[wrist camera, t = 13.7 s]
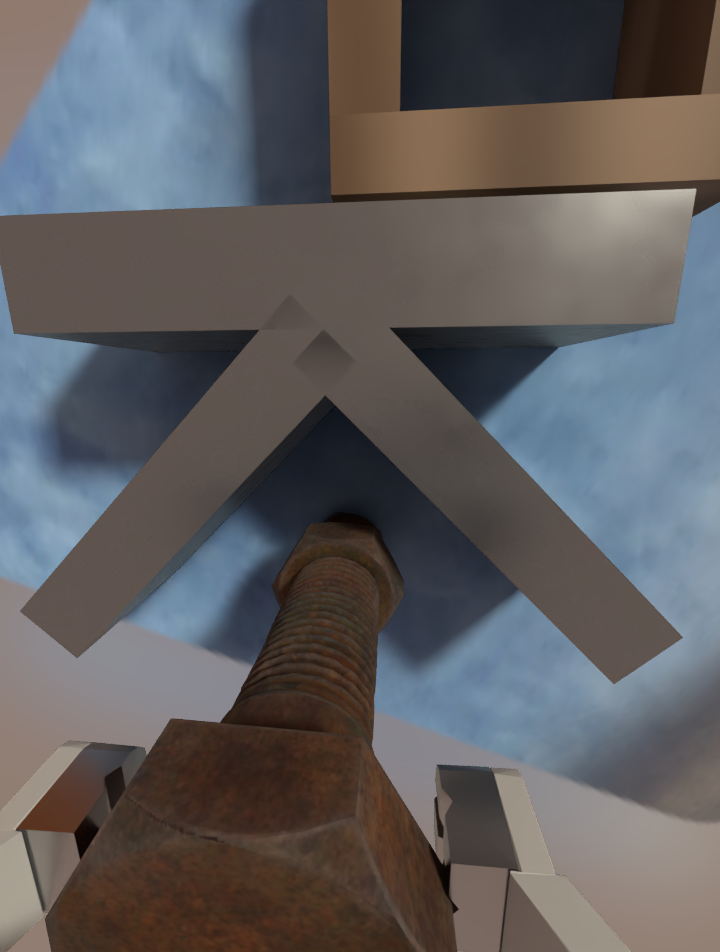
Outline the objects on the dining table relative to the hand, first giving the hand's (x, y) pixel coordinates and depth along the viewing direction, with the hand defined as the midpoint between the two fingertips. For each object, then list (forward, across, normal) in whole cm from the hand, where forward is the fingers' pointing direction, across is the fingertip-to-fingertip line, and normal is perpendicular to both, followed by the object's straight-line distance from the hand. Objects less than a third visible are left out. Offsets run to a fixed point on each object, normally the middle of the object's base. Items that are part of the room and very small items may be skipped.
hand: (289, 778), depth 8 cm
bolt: (+12, 0, 0) cm, 12 cm away
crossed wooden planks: (+12, 0, +5) cm, 13 cm away
